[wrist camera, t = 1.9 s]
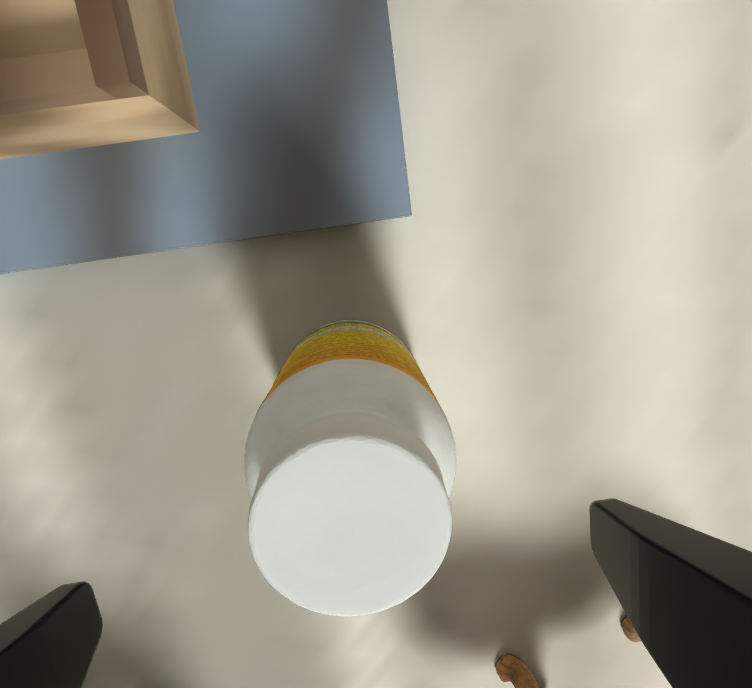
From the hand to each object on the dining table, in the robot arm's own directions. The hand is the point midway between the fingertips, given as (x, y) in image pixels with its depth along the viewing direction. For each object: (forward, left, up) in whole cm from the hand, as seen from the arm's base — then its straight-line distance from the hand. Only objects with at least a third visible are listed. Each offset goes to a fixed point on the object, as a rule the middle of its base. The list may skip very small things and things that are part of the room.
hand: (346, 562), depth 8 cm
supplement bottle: (0, 0, -11) cm, 11 cm away
